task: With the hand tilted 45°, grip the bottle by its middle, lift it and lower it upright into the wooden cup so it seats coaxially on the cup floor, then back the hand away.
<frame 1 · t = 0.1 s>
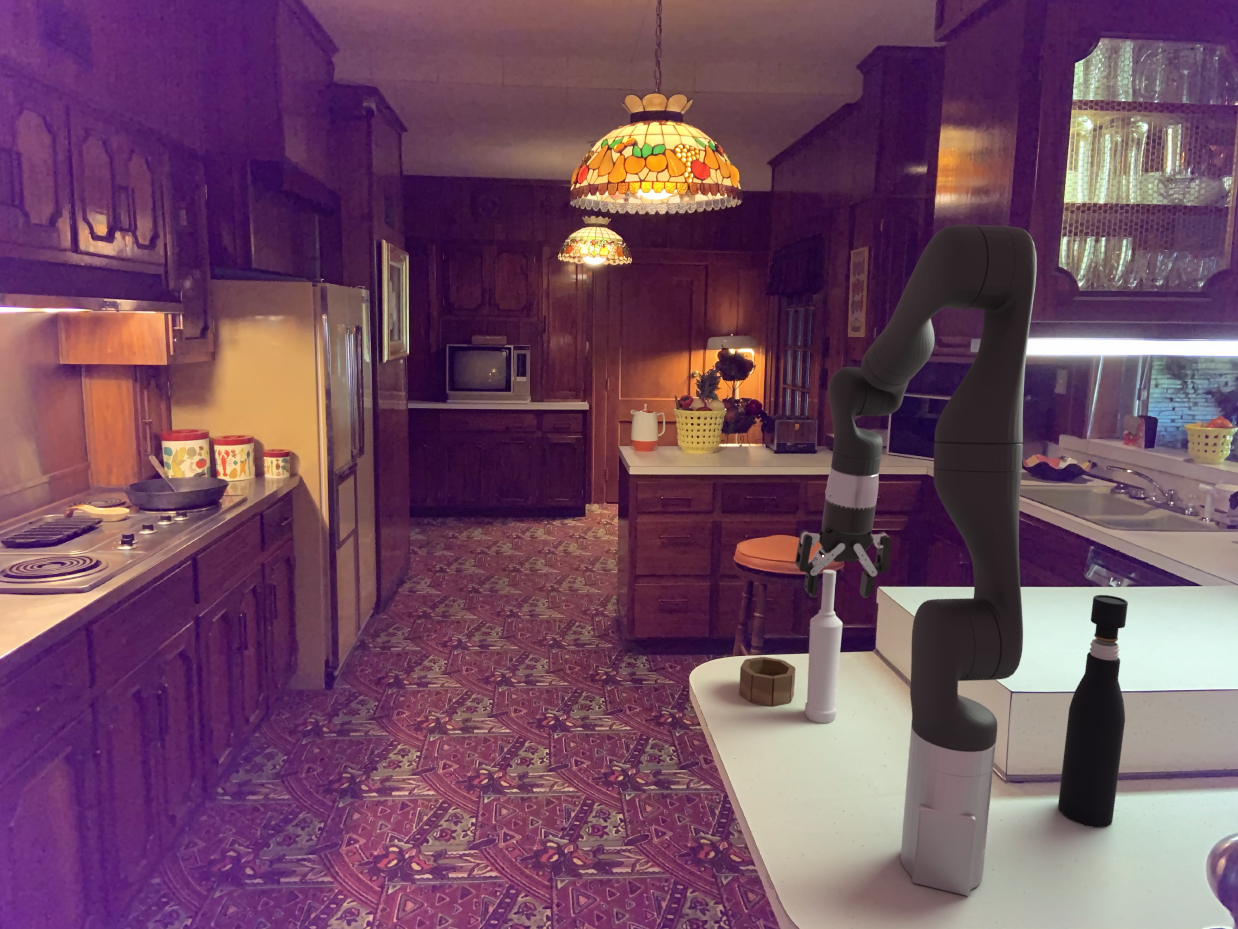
hand: (837, 595, 132), 22 cm above the kitchen counter, tool pointing down, fingers open, 8 cm apart
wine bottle: (1084, 815, 112), on the kitchen counter
bottle: (820, 717, 139), on the kitchen counter
wooden cup: (766, 694, 148), on the kitchen counter
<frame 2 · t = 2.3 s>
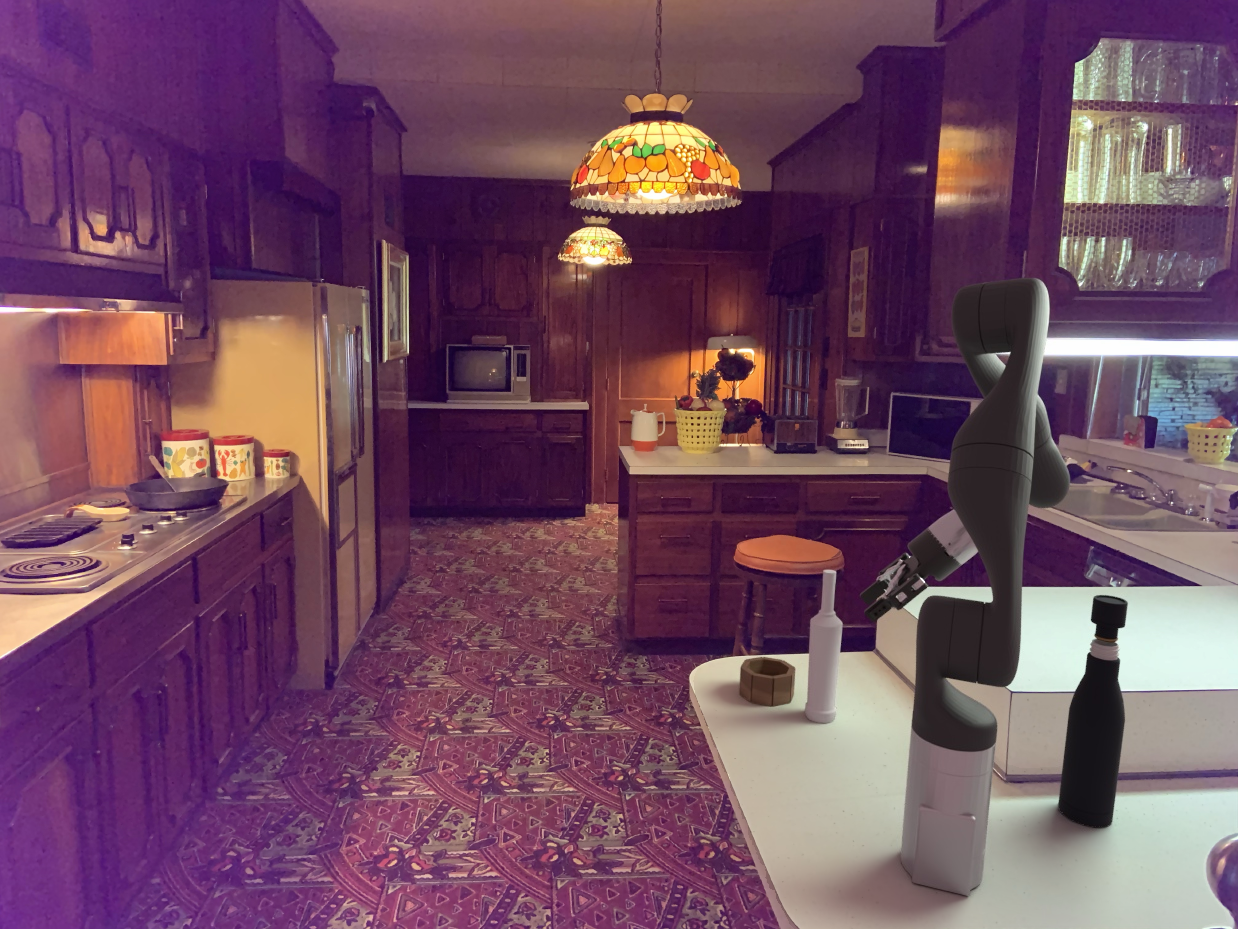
hand: (865, 608, 135), 19 cm above the kitchen counter, tool tilted 45°, fingers open, 8 cm apart
nothing on the kitchen counter moved.
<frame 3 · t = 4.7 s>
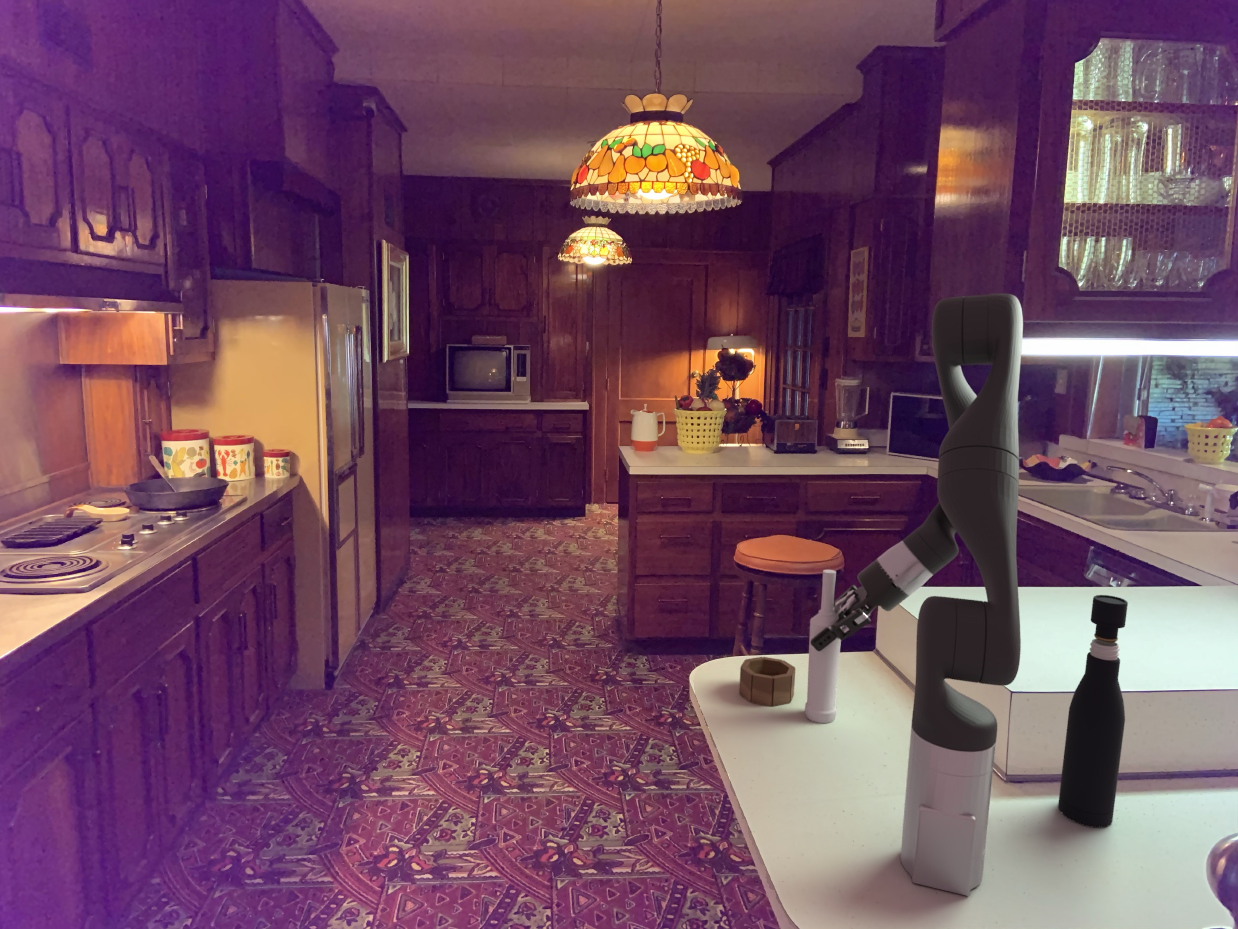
hand: (813, 640, 138), 13 cm above the kitchen counter, tool tilted 45°, fingers closed on bottle, 5 cm apart
bottle: (820, 717, 139), on the kitchen counter, touching gripper
everything else where it was.
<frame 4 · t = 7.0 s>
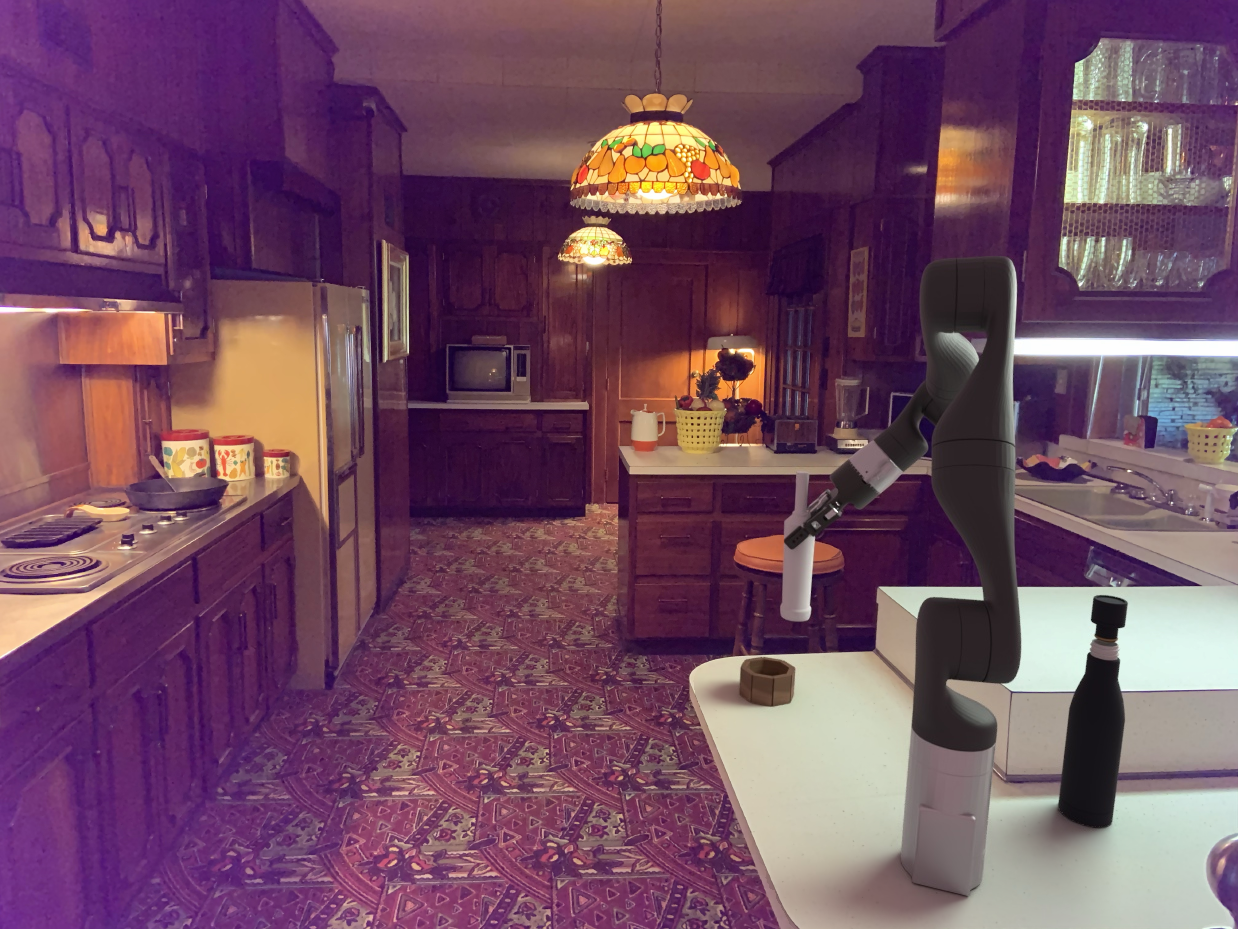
hand: (787, 540, 141), 28 cm above the kitchen counter, tool tilted 45°, fingers closed on bottle, 5 cm apart
bottle: (795, 617, 143), point 15 cm above the kitchen counter, touching gripper
everything else where it was.
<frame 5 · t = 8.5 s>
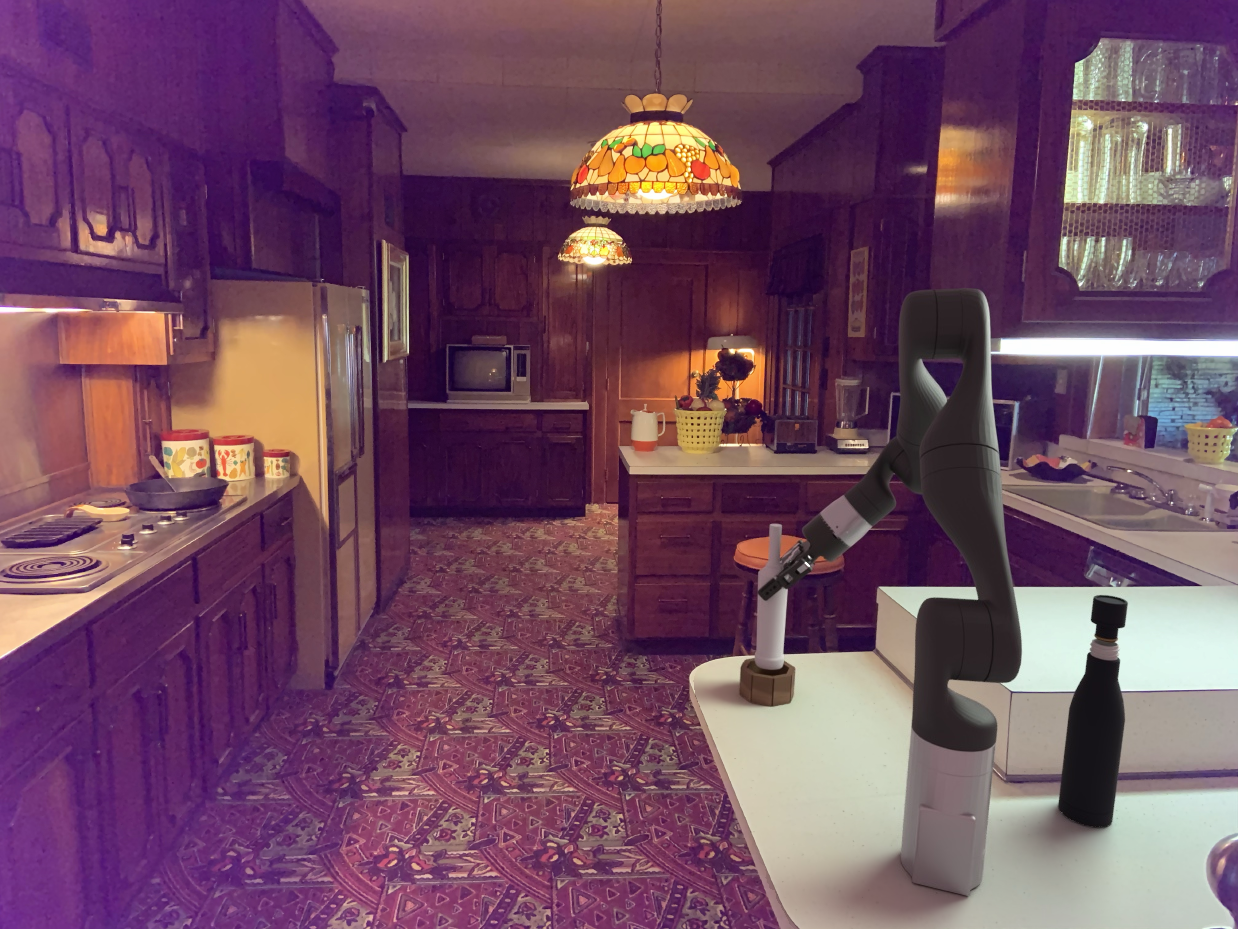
hand: (761, 591, 145), 19 cm above the kitchen counter, tool tilted 45°, fingers closed on bottle, 5 cm apart
bottle: (769, 665, 147), point 5 cm above the kitchen counter, touching gripper
everything else where it was.
when the fingers open (15 cm above the kitchen counter, at t = 9.6 s): bottle drops 1 cm, resting on wooden cup.
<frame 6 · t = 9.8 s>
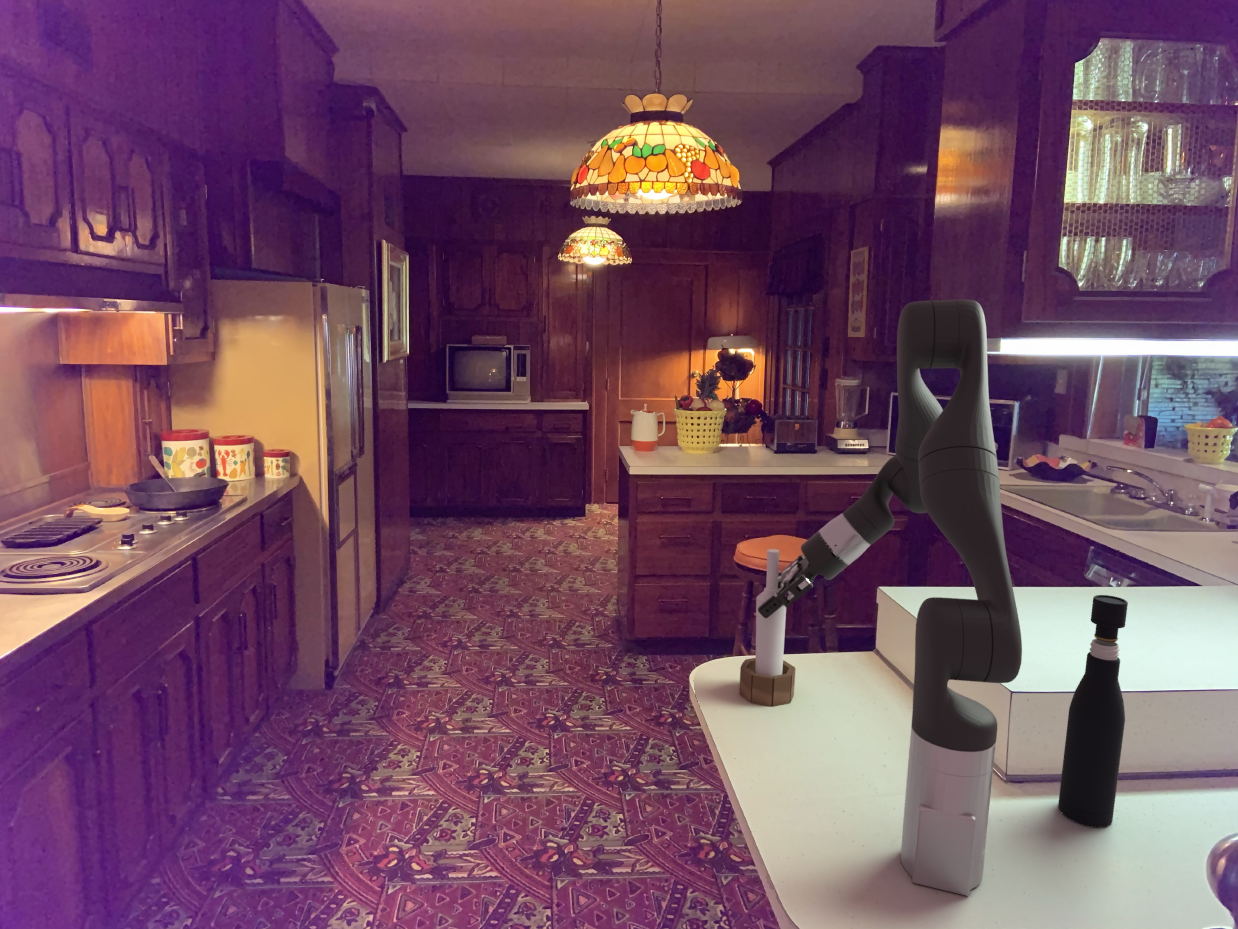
hand: (762, 606, 145), 16 cm above the kitchen counter, tool tilted 45°, fingers open, 7 cm apart
bottle: (768, 690, 147), point 1 cm above the kitchen counter, touching wooden cup
everything else where it was.
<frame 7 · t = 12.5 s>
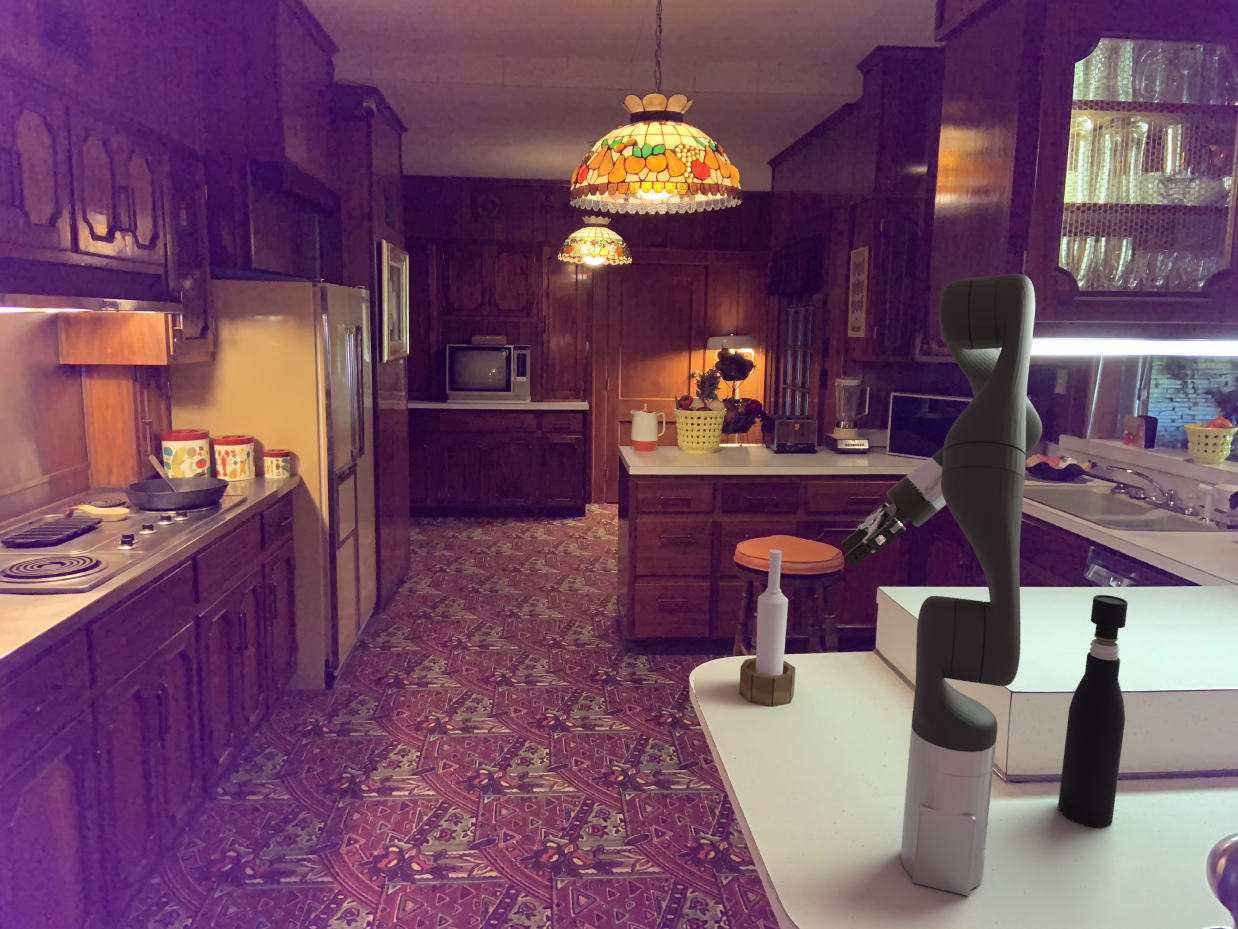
hand: (846, 554, 140), 26 cm above the kitchen counter, tool tilted 45°, fingers open, 8 cm apart
nothing on the kitchen counter moved.
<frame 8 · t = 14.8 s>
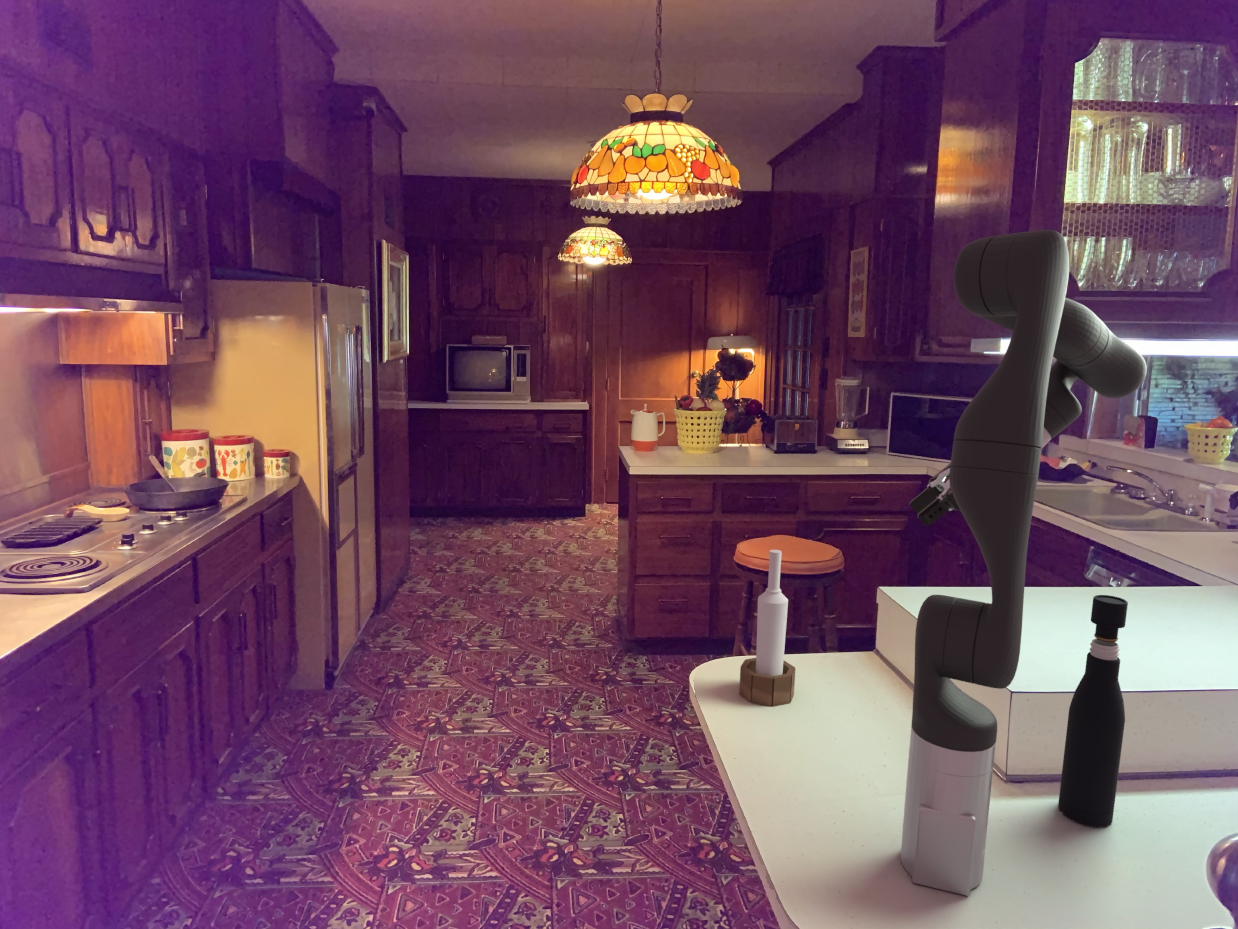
hand: (917, 515, 124), 37 cm above the kitchen counter, tool tilted 45°, fingers open, 8 cm apart
nothing on the kitchen counter moved.
at the end: bottle 0.3 cm off-centre on the wooden cup, point 0.8 cm above the wooden cup's base; bottle tilted 0°; the gripper is holding nothing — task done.
